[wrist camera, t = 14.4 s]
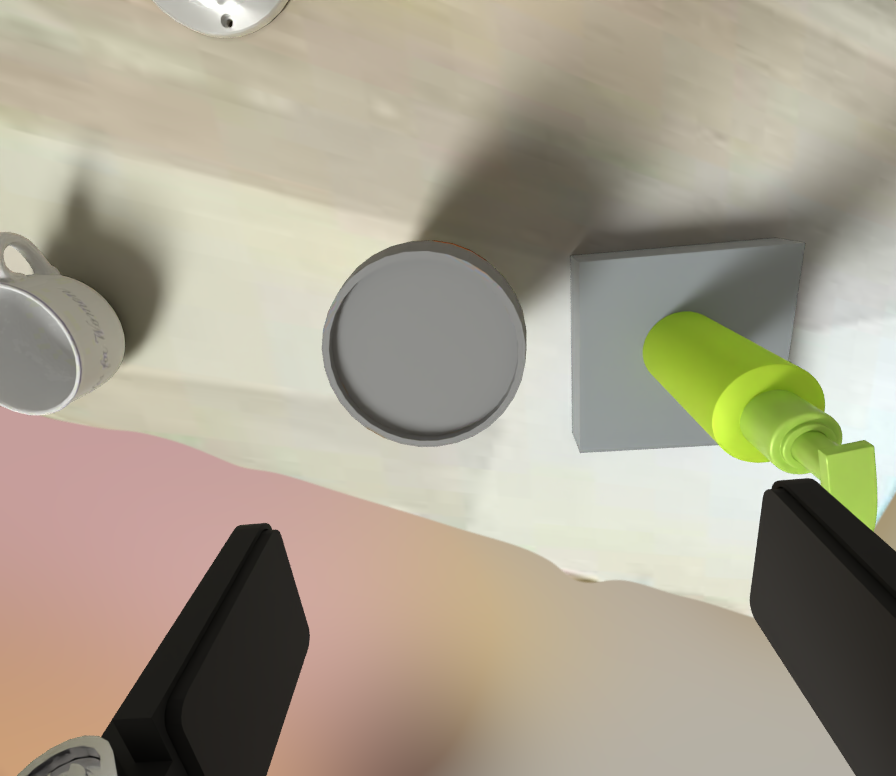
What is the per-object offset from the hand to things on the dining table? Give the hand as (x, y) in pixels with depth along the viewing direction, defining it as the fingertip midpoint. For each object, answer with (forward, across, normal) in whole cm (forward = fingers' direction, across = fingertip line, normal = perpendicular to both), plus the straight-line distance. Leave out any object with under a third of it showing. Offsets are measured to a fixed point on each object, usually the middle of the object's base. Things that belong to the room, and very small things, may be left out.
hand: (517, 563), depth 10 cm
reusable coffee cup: (+36, +4, +3) cm, 36 cm away
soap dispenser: (+31, -15, +8) cm, 36 cm away
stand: (+35, -15, +8) cm, 39 cm away
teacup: (+37, +35, 0) cm, 51 cm away
